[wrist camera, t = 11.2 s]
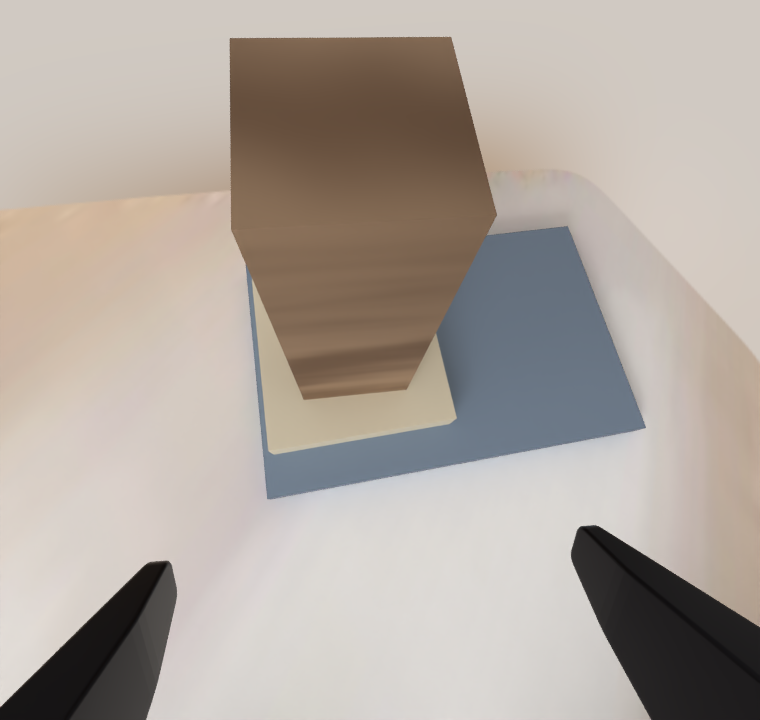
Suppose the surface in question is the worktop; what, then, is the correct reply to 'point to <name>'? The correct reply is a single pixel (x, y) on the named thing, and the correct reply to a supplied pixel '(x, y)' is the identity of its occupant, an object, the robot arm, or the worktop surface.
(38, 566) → the worktop surface
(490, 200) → the walnut pillar
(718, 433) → the worktop surface
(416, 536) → the worktop surface
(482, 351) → the board
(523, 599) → the worktop surface
